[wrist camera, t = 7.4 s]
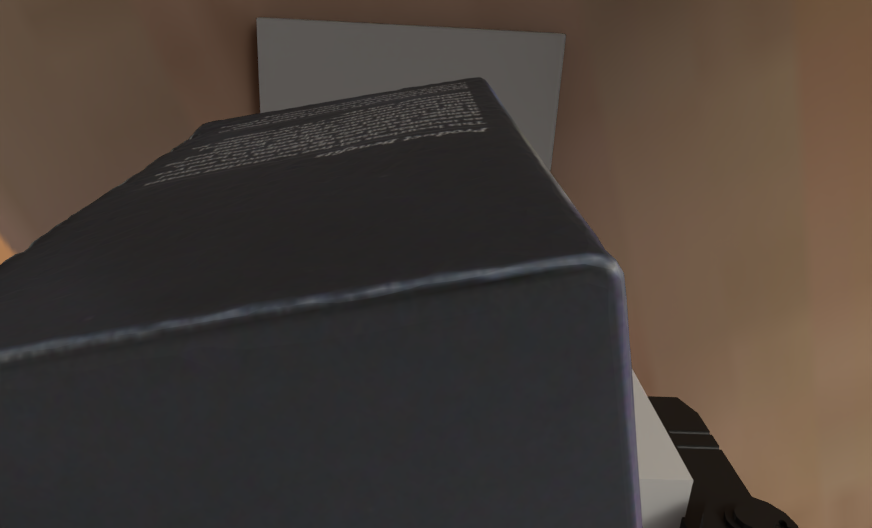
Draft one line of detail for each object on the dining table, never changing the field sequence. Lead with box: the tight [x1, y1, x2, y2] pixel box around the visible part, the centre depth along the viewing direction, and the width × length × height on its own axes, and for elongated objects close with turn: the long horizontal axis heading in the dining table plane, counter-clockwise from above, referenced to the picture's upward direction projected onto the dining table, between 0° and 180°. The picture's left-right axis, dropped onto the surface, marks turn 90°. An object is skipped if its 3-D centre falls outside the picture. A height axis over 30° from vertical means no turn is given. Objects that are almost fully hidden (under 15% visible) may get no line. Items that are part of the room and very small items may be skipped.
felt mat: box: [256, 17, 566, 172], centre depth 25 cm, size 10×12×1 cm
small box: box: [0, 77, 643, 528], centre depth 11 cm, size 11×6×10 cm, turn 10°
